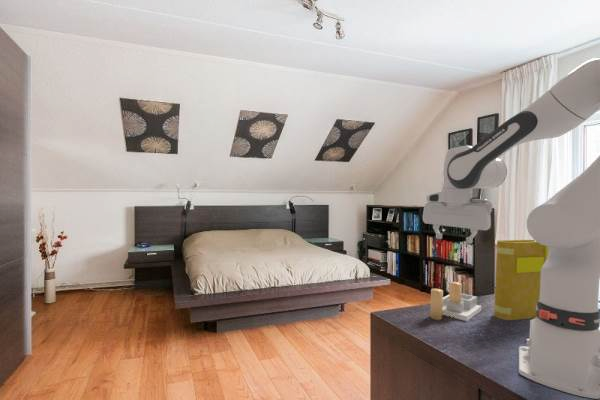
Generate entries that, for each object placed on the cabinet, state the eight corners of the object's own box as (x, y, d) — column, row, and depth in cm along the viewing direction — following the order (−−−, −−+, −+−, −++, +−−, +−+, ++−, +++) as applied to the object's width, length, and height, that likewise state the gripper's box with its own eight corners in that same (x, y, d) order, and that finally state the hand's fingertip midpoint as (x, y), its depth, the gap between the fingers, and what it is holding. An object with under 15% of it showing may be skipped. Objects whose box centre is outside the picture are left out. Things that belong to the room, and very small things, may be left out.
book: (526, 310, 123) (529, 239, 122) (545, 316, 116) (548, 242, 116) (488, 314, 117) (492, 240, 117) (506, 321, 111) (509, 243, 110)
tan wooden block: (439, 320, 110) (440, 292, 110) (428, 317, 112) (429, 290, 112) (443, 318, 112) (444, 290, 112) (432, 315, 115) (433, 288, 115)
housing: (466, 321, 110) (468, 288, 110) (435, 313, 117) (436, 281, 117) (481, 310, 121) (482, 280, 121) (451, 303, 128) (452, 274, 128)
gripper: (495, 199, 106) (492, 245, 107) (429, 195, 120) (427, 235, 121) (489, 200, 101) (485, 247, 102) (421, 195, 116) (419, 237, 116)
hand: (453, 240), depth 112 cm, fingers open, 8 cm apart
